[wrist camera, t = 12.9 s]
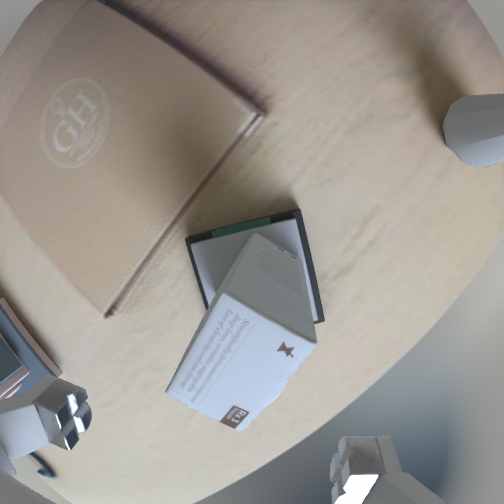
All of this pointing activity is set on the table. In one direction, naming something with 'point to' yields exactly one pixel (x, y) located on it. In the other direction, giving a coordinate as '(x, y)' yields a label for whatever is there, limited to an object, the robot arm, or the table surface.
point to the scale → (233, 240)
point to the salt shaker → (476, 129)
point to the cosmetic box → (248, 337)
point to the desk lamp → (20, 356)
